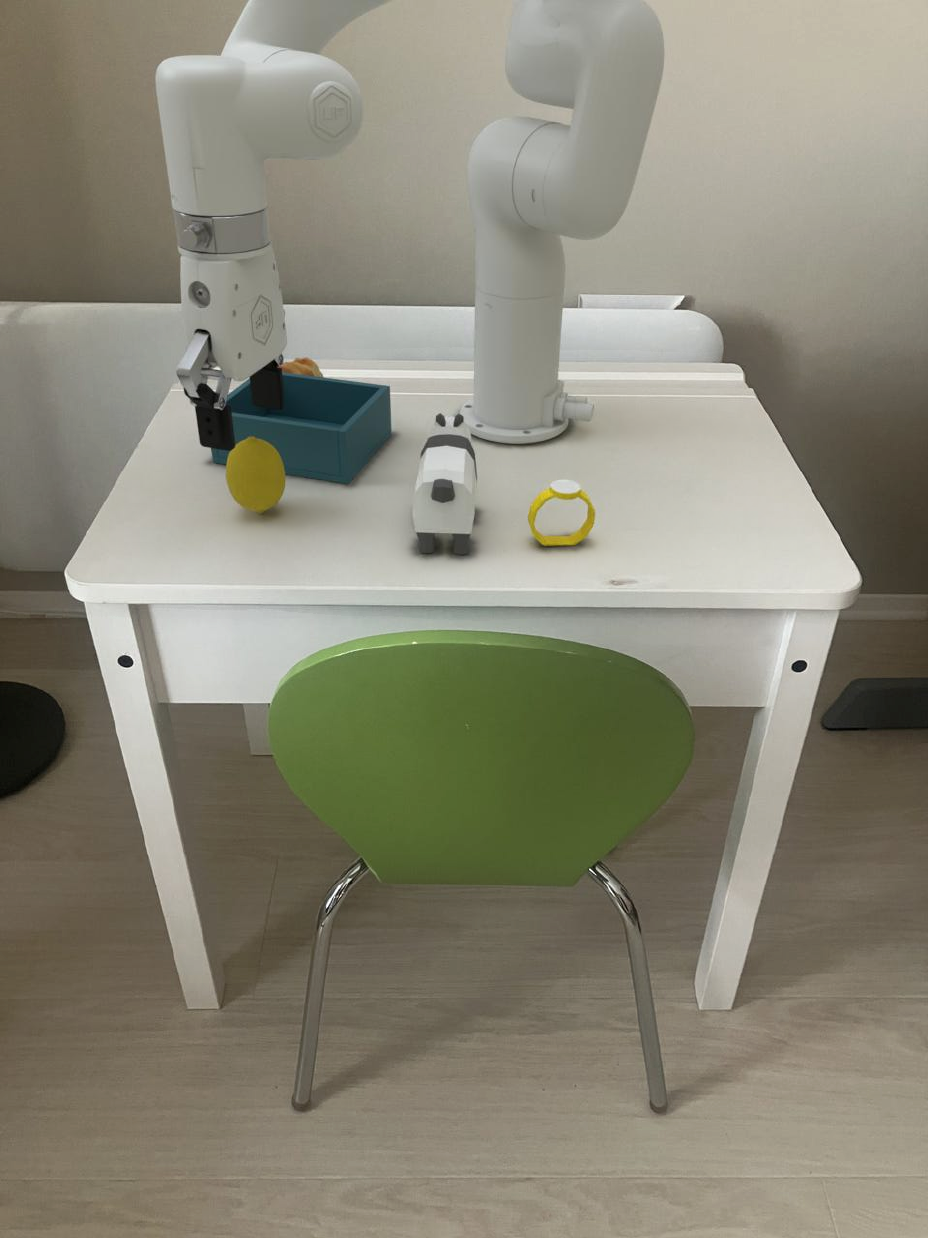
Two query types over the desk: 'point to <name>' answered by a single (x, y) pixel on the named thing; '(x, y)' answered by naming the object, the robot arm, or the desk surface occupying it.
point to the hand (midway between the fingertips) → (244, 426)
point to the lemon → (255, 474)
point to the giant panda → (446, 485)
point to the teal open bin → (316, 425)
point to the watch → (564, 492)
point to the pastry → (302, 367)
